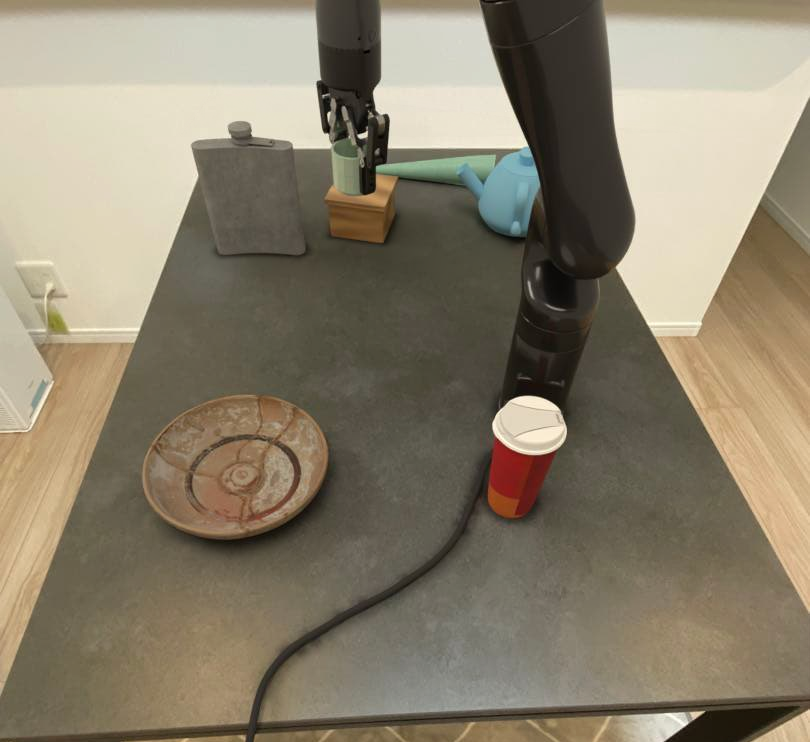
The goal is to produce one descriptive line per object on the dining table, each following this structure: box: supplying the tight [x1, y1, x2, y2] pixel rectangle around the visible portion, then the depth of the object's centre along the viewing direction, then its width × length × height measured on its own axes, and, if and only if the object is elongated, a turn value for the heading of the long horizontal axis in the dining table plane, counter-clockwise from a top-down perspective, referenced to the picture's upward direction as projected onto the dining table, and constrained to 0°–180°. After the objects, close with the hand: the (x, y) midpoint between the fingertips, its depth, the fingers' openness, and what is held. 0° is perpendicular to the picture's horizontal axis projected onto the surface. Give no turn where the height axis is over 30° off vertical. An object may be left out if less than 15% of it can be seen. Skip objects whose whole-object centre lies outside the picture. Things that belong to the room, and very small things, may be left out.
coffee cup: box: [487, 396, 568, 519], centre depth 73 cm, size 8×8×15 cm
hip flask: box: [190, 120, 307, 256], centre depth 101 cm, size 16×4×20 cm, turn 91°
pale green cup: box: [330, 137, 367, 196], centre depth 83 cm, size 6×6×5 cm
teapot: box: [456, 146, 540, 238], centre depth 111 cm, size 20×20×13 cm
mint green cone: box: [376, 154, 497, 187], centre depth 122 cm, size 5×6×27 cm
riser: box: [323, 174, 399, 244], centre depth 111 cm, size 11×11×7 cm
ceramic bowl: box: [141, 394, 329, 541], centre depth 78 cm, size 23×24×5 cm
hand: (354, 182), depth 84 cm, fingers closed on pale green cup, 6 cm apart
